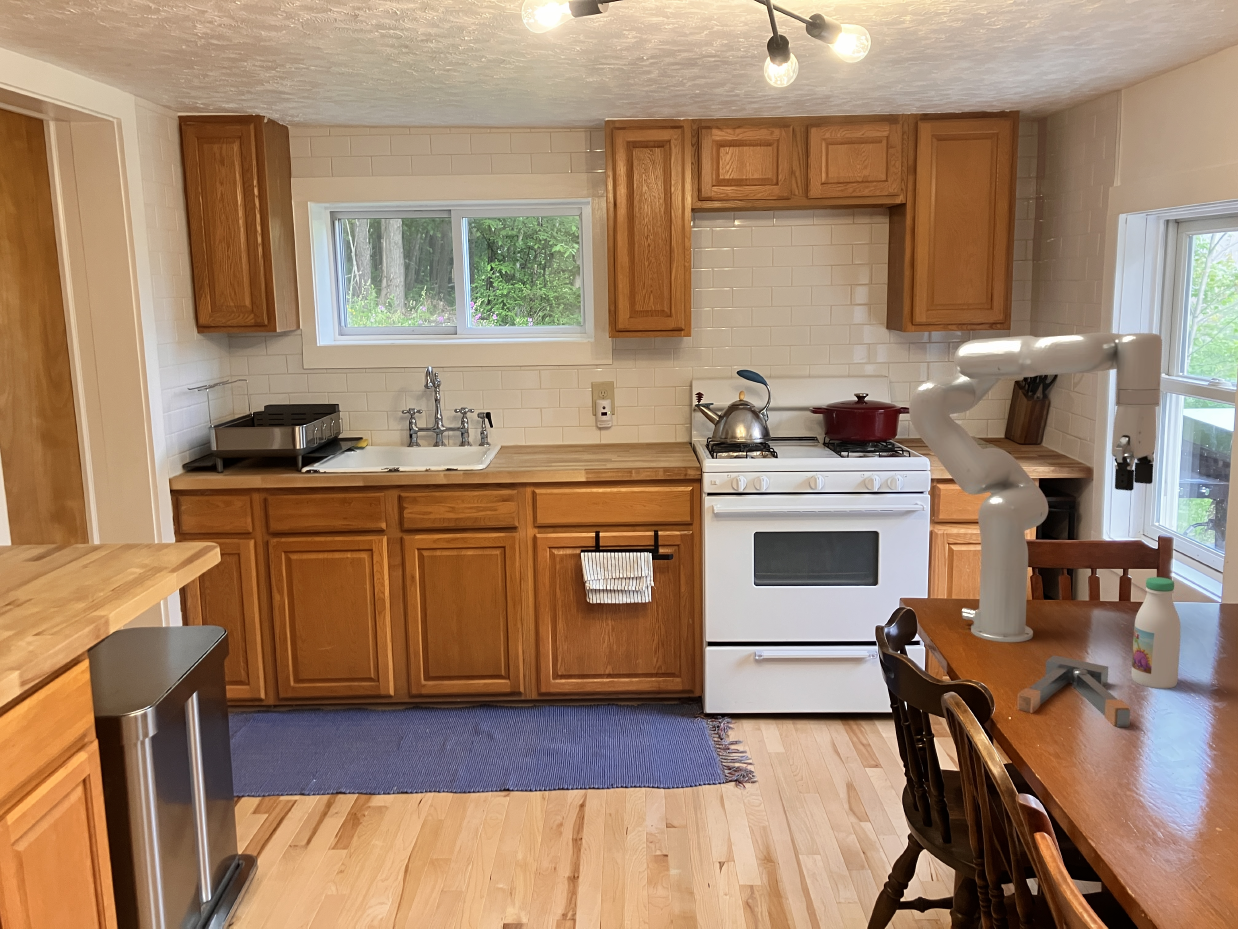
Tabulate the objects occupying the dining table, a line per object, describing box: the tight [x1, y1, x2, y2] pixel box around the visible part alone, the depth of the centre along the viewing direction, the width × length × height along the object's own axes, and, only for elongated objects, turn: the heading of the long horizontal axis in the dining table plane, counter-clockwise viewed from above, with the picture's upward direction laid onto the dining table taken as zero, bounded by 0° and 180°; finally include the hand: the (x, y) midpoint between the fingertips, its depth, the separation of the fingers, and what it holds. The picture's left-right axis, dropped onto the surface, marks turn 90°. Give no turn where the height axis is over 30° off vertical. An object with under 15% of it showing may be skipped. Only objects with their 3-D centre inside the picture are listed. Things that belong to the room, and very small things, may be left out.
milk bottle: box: [1131, 576, 1181, 690], centre depth 188 cm, size 8×8×20 cm
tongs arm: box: [1072, 669, 1132, 728], centre depth 178 cm, size 19×3×3 cm, turn 177°
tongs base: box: [1016, 654, 1109, 714], centre depth 183 cm, size 10×23×4 cm, turn 137°
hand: (1133, 486), depth 194 cm, fingers open, 9 cm apart
